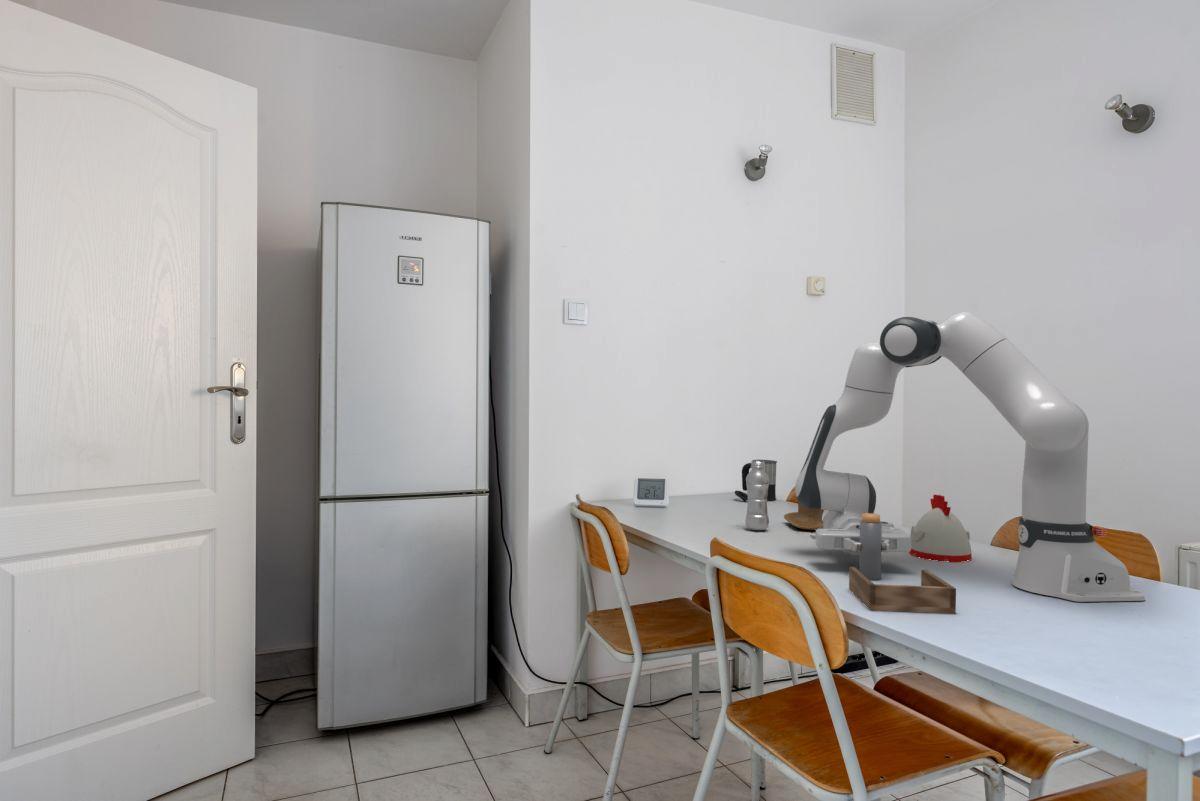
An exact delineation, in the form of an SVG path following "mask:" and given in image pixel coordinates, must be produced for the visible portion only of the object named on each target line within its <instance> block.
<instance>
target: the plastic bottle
mask: <svg viewBox="0 0 1200 801" xmlns="http://www.w3.org/2000/svg"><path fill="white" fill-rule="evenodd" d="M750 463H751V467H752V468H751V470H749V473H748V475H747V477H746V485H747V491H746V492H747V493H746V494H747V495H748V501H747V505H746V506H747V507H746V515H745V519H744V520H745V522H744V523H745V526H746V528H747V529H749V530H752V531H756V532H759V531H766V530H767V529H768V528H769V525H770V524H769V523H770V519H769V514H768V501H767V492H768V486H769V478H768V476H767V474H766V472H765V471H764V468H765V466H764V464H765V462H764V461H752V460H751V462H750Z"/></svg>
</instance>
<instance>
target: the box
mask: <svg viewBox="0 0 1200 801" xmlns="http://www.w3.org/2000/svg"><path fill="white" fill-rule="evenodd" d="M848 568H849V569H848V575H849V576H848V590H849V589H850V590H851V591H852V592H853V593H854V594H855V595H856V596H857V597H858V598H859V599H860V600H861V601H862V602H863V603H864V604H865V605H866V606H867V607H868V608H869V609H870V610H869V609H868V608H867V607H866V606H865V605H864V604H863V603H862V602H861V601H860V600H859V599H858V598H857V597H856V596H855V595H854V594H853V593H852V594H853V595H854V596H855V597H856V598H857V599H858V600H859V601H860V602H861V603H862V604H863V605H864V606H865V607H866V608H867V609H868V610H869V611H878V610H884V612H885V610H886V612H908V613H931V614H953V615H955V614H956V613H957V612H956V611H957V610H956V607H957V601H956V600H957V588H956V587H954V586H953V585H951V584H950V583H948V582H946V581H945V580H944V579H942V578H940V577H939V576H937V575H936V574H935V573H933V572H931V571H929V570H928V569H921V571H920V573H921V574H920V575H921V576H920V585H908V584H907V585H905V584H904V585H903V584H882V583H881V584H879V583H878V584H877V583H876V584H875V583H874V582H872V580H869V579H868V578H867V577H865V576H864V575H863V574H862V573H861V572H860V571H859V569H857V568H856V567H855V566H849V567H848ZM850 590H849V591H850ZM851 591H850V592H851Z"/></svg>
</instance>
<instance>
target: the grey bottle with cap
mask: <svg viewBox="0 0 1200 801" xmlns="http://www.w3.org/2000/svg"><path fill="white" fill-rule="evenodd" d="M880 521H881V514H879V513H863V514H862V520H861V521H860V543H861V551H859V555H858V558H859V560H858V565H859V566H858V571H860V572H861V573H862V574H863V575H864V576H865V577H867V578H868V579H869V580H870V581H880V579H882V552H881V548H882V522H883V521H881V522H880Z"/></svg>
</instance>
